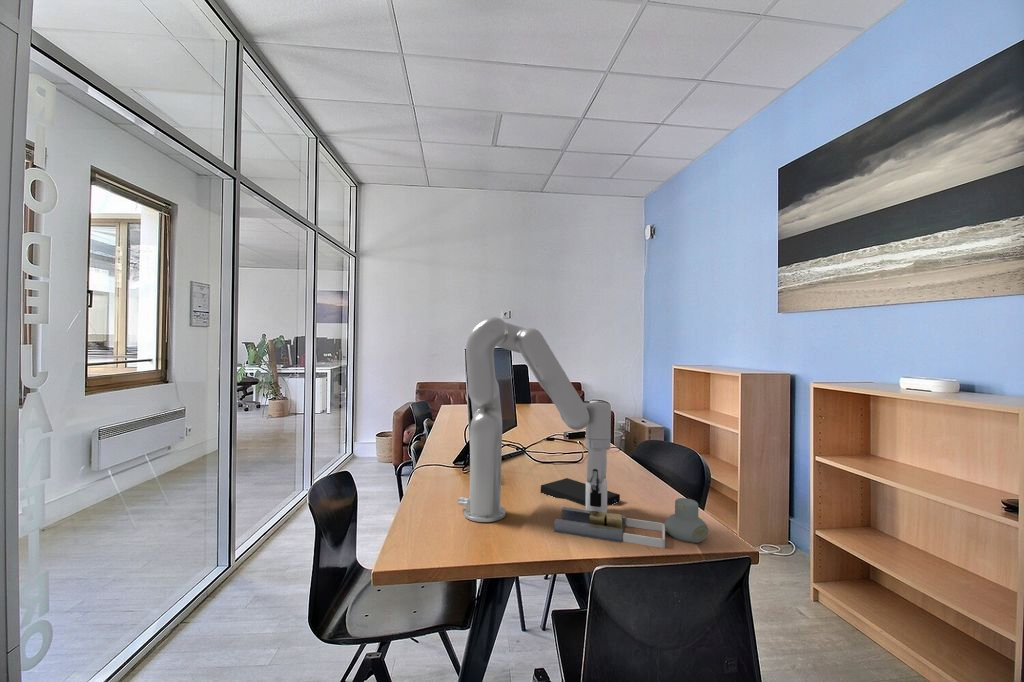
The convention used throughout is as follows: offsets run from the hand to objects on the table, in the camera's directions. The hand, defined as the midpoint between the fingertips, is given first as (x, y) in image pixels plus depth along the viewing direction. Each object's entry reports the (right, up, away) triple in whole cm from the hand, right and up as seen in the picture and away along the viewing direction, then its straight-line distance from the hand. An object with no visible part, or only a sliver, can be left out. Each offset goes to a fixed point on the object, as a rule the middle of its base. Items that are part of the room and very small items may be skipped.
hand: (597, 501), depth 131 cm
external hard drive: (-3, -5, +16) cm, 17 cm away
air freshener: (+21, -5, -15) cm, 26 cm away
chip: (+2, -3, -13) cm, 14 cm away
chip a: (-2, -3, -12) cm, 13 cm away
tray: (+9, -4, -16) cm, 19 cm away
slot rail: (-4, -4, -11) cm, 13 cm away
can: (0, -4, 0) cm, 4 cm away
